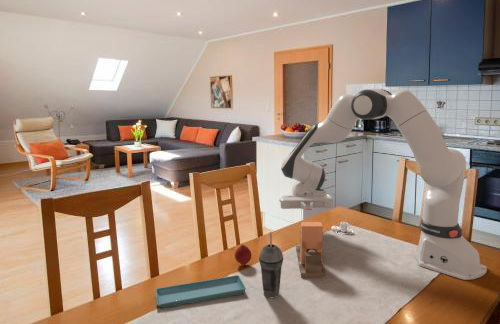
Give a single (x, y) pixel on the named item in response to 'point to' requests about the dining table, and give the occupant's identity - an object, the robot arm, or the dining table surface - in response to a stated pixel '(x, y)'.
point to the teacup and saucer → (341, 227)
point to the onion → (243, 254)
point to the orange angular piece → (310, 238)
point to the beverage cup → (271, 268)
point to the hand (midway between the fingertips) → (308, 207)
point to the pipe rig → (311, 263)
